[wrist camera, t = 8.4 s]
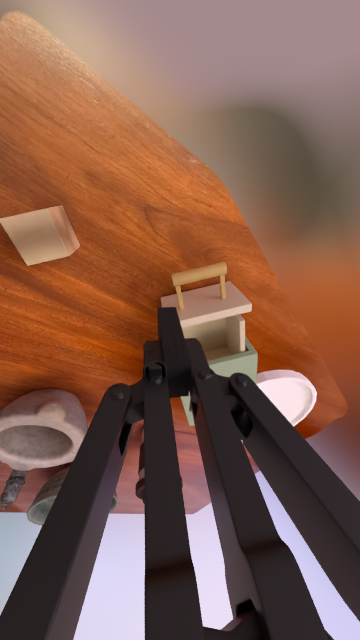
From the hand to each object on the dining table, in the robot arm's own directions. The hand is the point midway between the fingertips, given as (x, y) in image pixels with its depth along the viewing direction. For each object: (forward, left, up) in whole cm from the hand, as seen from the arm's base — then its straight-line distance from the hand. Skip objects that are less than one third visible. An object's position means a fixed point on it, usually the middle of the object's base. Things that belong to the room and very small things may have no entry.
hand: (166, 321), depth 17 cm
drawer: (+9, +5, -15) cm, 19 cm away
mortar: (+23, -28, -16) cm, 40 cm away
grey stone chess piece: (+37, -41, -16) cm, 57 cm away
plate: (+45, +18, -16) cm, 51 cm away
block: (-7, -12, -16) cm, 21 cm away
